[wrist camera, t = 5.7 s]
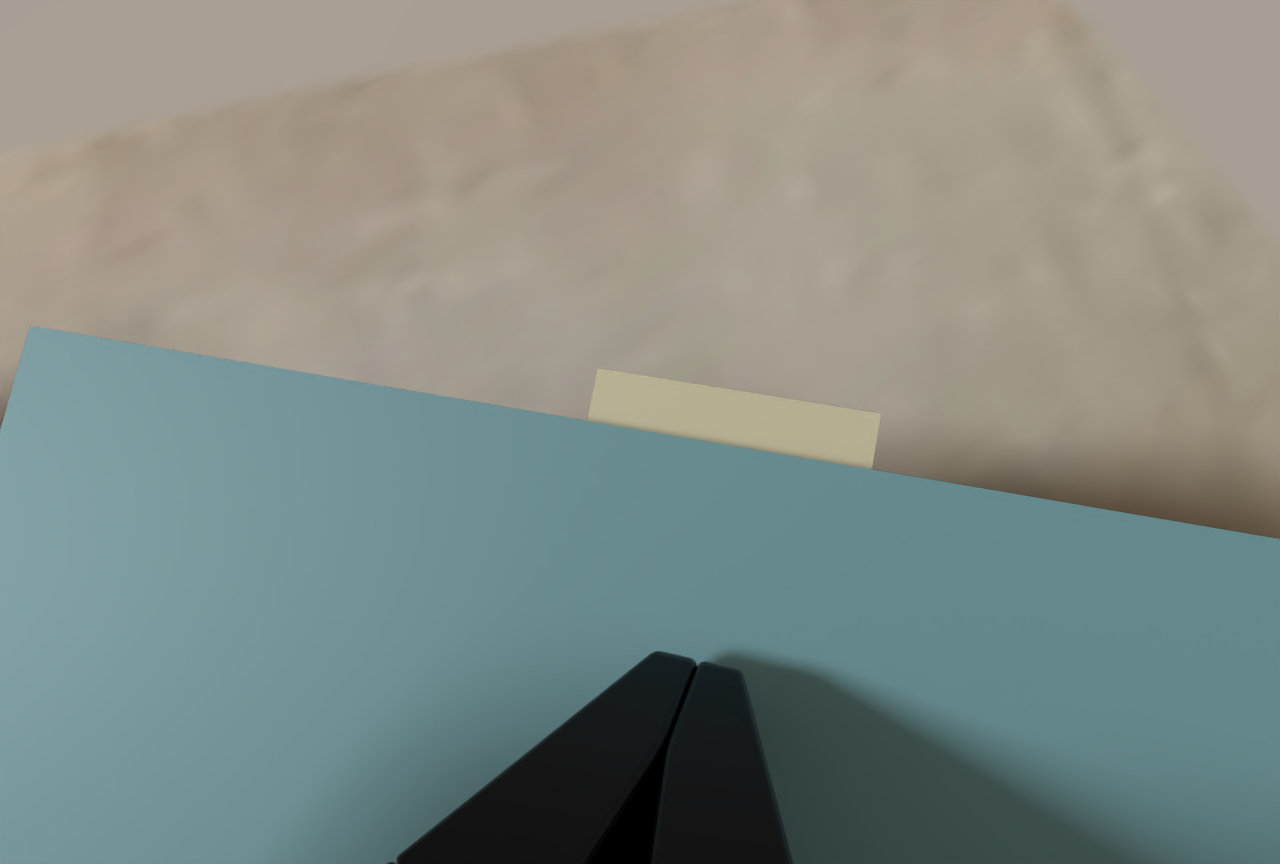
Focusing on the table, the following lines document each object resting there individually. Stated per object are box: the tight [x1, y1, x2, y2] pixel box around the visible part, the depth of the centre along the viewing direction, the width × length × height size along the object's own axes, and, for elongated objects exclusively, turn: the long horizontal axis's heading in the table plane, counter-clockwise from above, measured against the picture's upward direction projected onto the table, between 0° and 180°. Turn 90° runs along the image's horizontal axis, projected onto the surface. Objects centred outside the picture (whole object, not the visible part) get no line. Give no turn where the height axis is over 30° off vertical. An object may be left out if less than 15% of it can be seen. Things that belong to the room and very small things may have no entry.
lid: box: [0, 326, 1280, 864], centre depth 11 cm, size 9×16×2 cm, turn 77°
